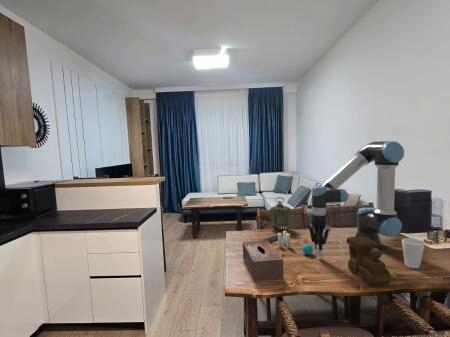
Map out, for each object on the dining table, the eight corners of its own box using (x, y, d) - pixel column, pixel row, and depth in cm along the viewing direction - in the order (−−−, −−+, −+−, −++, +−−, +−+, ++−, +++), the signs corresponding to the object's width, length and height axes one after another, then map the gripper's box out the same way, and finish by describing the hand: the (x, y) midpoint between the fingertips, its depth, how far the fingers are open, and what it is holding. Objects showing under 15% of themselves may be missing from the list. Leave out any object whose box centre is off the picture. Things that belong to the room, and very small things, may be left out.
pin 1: (282, 246, 164) (282, 233, 163) (280, 247, 162) (280, 234, 162) (279, 245, 166) (279, 232, 165) (277, 246, 164) (277, 233, 164)
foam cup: (419, 262, 137) (420, 239, 136) (426, 271, 128) (427, 245, 127) (398, 260, 140) (399, 237, 139) (404, 268, 131) (405, 243, 130)
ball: (315, 254, 151) (315, 244, 150) (309, 257, 147) (309, 247, 147) (306, 251, 156) (306, 241, 155) (300, 254, 152) (300, 244, 151)
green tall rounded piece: (291, 229, 197) (290, 197, 195) (287, 232, 190) (286, 199, 188) (273, 226, 205) (272, 195, 203) (268, 229, 198) (268, 197, 195)
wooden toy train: (344, 268, 133) (344, 237, 132) (365, 266, 134) (365, 235, 133) (370, 289, 113) (371, 252, 112) (394, 287, 115) (395, 251, 113)
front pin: (290, 247, 162) (290, 234, 161) (288, 248, 161) (288, 235, 160) (287, 246, 164) (287, 233, 163) (285, 247, 162) (285, 234, 162)
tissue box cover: (243, 259, 148) (242, 242, 147) (267, 257, 150) (267, 240, 149) (254, 282, 122) (253, 261, 122) (283, 279, 124) (283, 259, 124)
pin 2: (287, 244, 167) (287, 231, 166) (285, 245, 165) (285, 232, 165) (284, 243, 169) (284, 230, 168) (282, 244, 167) (282, 231, 167)
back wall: (280, 237, 179) (280, 233, 179) (260, 245, 167) (260, 240, 167) (278, 237, 181) (278, 233, 181) (258, 244, 168) (258, 240, 168)
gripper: (304, 213, 146) (304, 253, 148) (326, 217, 136) (326, 260, 138) (311, 210, 151) (311, 250, 153) (333, 215, 141) (333, 256, 143)
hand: (318, 255), depth 146 cm, fingers closed
